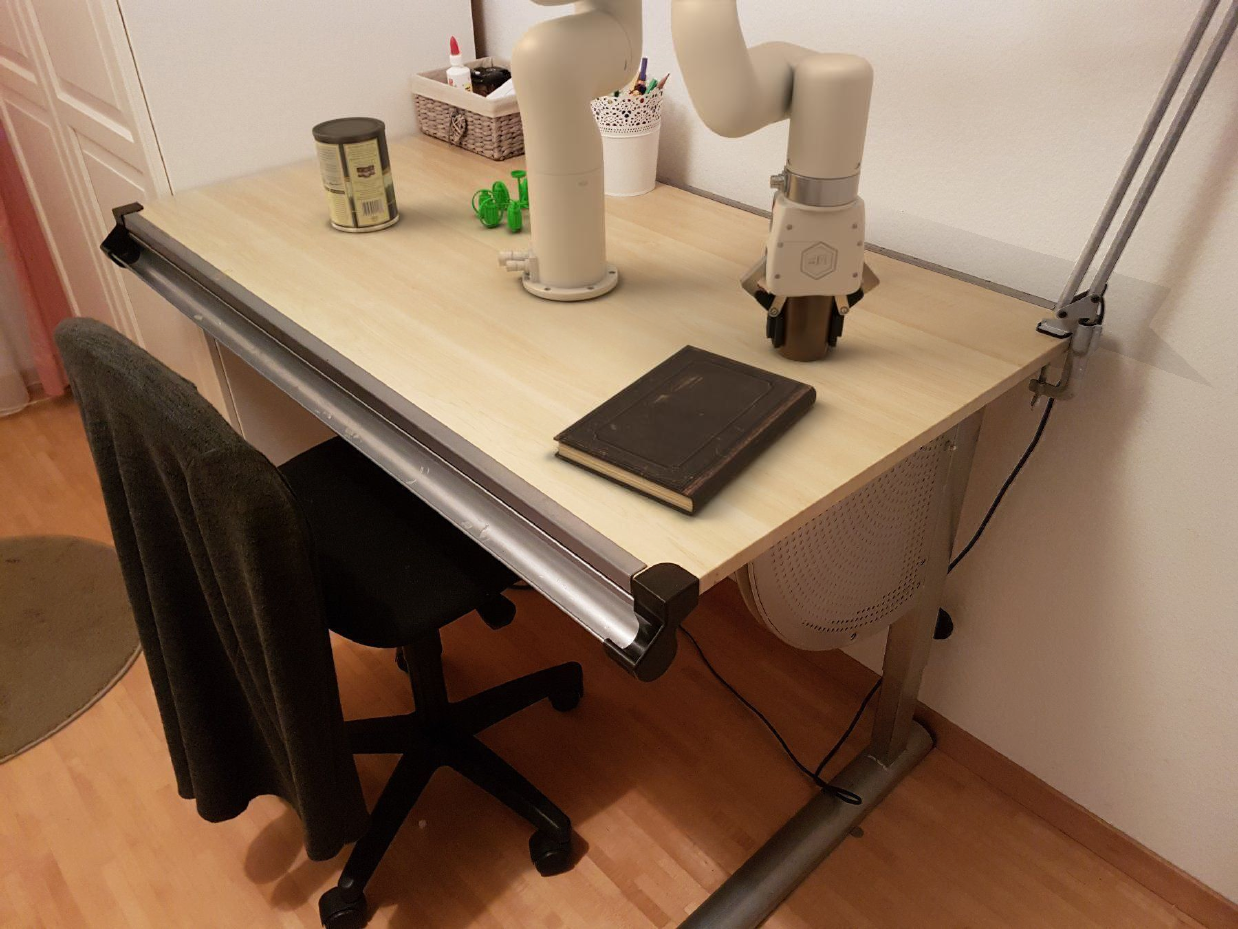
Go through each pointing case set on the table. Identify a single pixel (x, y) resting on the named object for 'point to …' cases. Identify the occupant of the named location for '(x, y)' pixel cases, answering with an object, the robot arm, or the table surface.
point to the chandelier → (503, 203)
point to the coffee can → (356, 173)
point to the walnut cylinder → (806, 327)
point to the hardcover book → (685, 427)
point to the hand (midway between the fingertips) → (802, 340)
